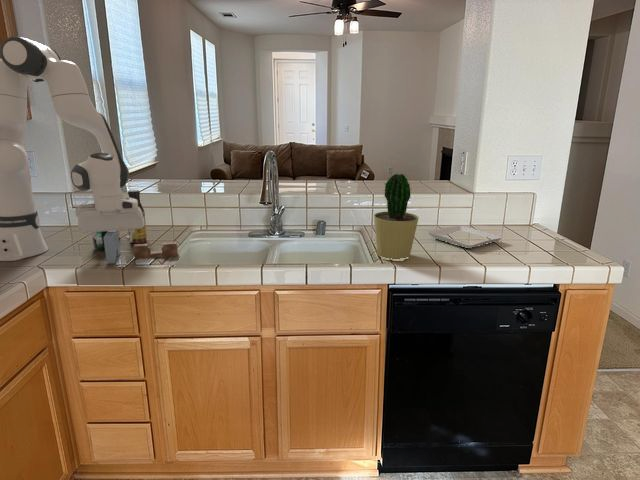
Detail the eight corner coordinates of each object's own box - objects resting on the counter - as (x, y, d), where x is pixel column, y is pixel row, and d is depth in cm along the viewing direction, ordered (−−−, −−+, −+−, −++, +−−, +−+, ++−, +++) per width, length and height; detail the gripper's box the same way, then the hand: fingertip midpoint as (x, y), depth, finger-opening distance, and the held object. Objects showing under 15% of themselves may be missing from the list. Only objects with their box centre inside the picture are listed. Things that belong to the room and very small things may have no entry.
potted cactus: (410, 250, 161) (417, 169, 153) (419, 264, 147) (427, 175, 138) (369, 249, 161) (373, 168, 153) (374, 263, 147) (379, 175, 138)
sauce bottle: (141, 244, 163) (135, 192, 157) (126, 243, 164) (120, 191, 158) (150, 239, 169) (145, 189, 163) (136, 238, 170) (130, 188, 164)
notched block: (134, 259, 147) (133, 246, 146) (135, 256, 149) (134, 244, 148) (177, 255, 151) (176, 243, 150) (177, 253, 153) (176, 241, 152)
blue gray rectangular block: (106, 263, 142) (103, 237, 140) (113, 252, 153) (109, 228, 151) (114, 263, 143) (111, 237, 140) (120, 252, 154) (117, 227, 152)
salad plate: (502, 244, 171) (503, 236, 170) (469, 253, 160) (470, 244, 159) (458, 232, 188) (459, 224, 187) (425, 239, 176) (426, 231, 175)
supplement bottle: (102, 252, 154) (97, 219, 150) (90, 249, 157) (85, 217, 153) (118, 247, 159) (115, 215, 156) (106, 244, 162) (102, 213, 159)
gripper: (72, 207, 138) (79, 248, 142) (140, 203, 144) (145, 242, 148) (76, 203, 144) (83, 242, 148) (142, 199, 149) (146, 237, 153)
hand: (115, 242), depth 148 cm, fingers open, 8 cm apart
